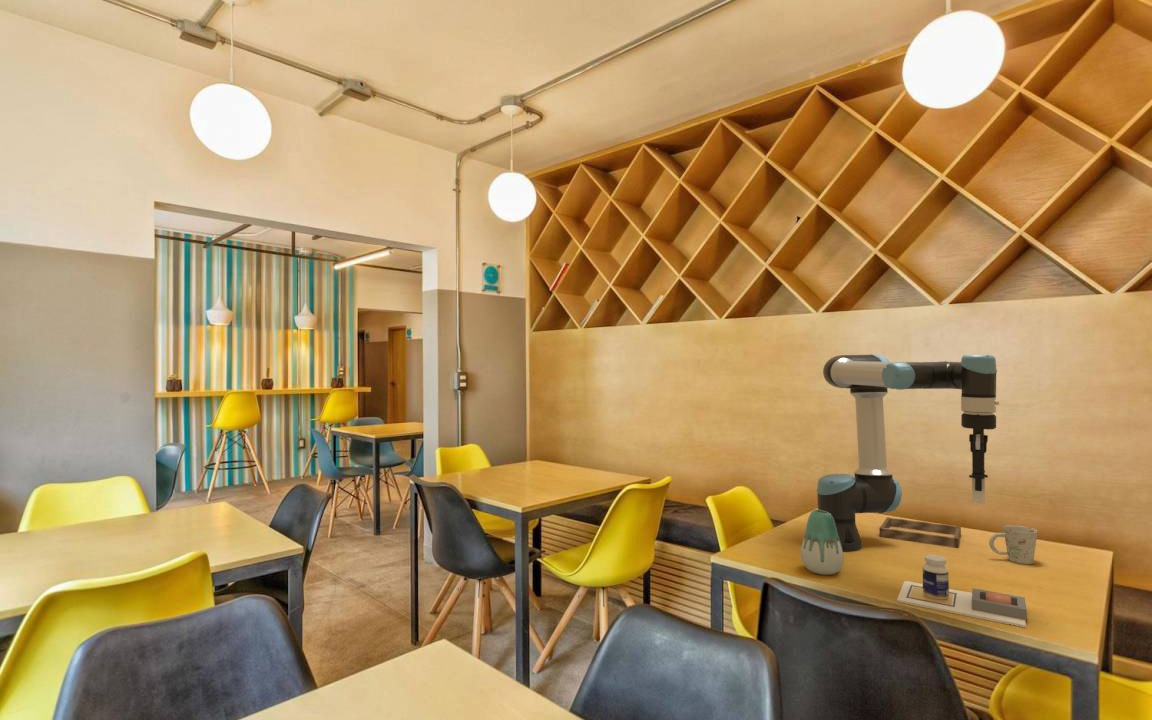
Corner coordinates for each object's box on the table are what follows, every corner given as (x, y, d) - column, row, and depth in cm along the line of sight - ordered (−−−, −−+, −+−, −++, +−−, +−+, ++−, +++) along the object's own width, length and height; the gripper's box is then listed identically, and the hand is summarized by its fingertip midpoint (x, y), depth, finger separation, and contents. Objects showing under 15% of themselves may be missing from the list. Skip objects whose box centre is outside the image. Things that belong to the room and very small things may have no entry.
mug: (1044, 566, 172) (1043, 533, 172) (997, 564, 175) (996, 531, 175) (1028, 557, 180) (1027, 525, 180) (983, 555, 183) (982, 523, 183)
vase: (841, 566, 173) (840, 507, 174) (845, 580, 162) (844, 516, 163) (800, 563, 177) (799, 504, 177) (801, 575, 166) (800, 513, 166)
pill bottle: (917, 592, 151) (917, 554, 151) (938, 591, 152) (937, 553, 152) (933, 600, 146) (932, 561, 146) (954, 599, 146) (953, 560, 146)
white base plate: (897, 601, 147) (896, 590, 147) (904, 583, 160) (904, 572, 160) (1027, 628, 131) (1027, 615, 131) (1024, 604, 144) (1024, 592, 144)
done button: (985, 609, 140) (985, 597, 140) (986, 602, 144) (985, 590, 145) (1011, 614, 137) (1011, 601, 138) (1011, 607, 142) (1010, 595, 142)
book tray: (879, 536, 204) (879, 528, 204) (887, 525, 219) (887, 517, 219) (958, 548, 191) (958, 538, 191) (960, 535, 205) (960, 526, 206)
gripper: (995, 416, 144) (995, 510, 144) (996, 411, 154) (996, 499, 154) (959, 414, 148) (959, 505, 148) (962, 410, 159) (962, 495, 159)
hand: (978, 502), depth 151 cm, fingers closed
